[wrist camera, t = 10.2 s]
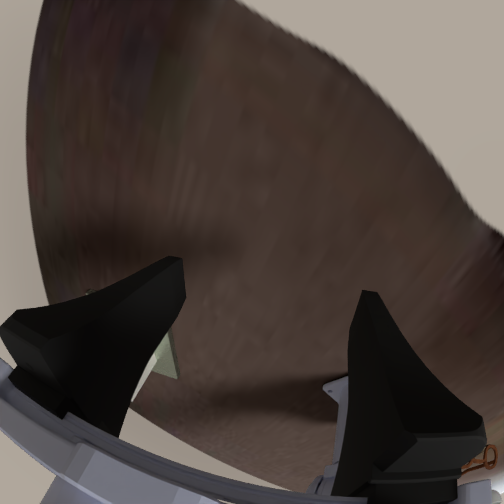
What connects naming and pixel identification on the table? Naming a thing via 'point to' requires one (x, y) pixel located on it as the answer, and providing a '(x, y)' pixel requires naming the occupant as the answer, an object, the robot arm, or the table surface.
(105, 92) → the table surface
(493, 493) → the serving bowl
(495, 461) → the glasses
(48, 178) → the table surface
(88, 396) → the robot arm
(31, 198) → the table surface
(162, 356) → the duct stub
